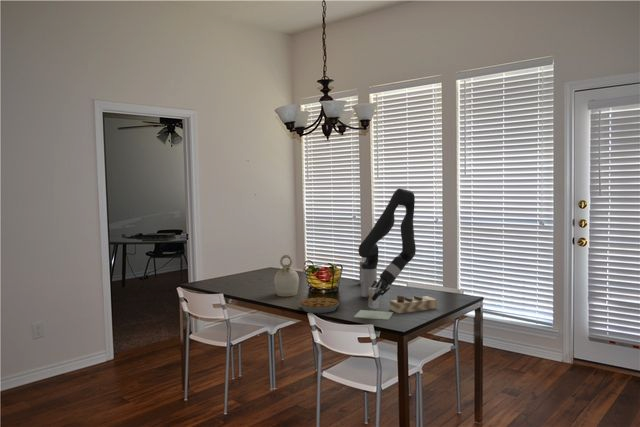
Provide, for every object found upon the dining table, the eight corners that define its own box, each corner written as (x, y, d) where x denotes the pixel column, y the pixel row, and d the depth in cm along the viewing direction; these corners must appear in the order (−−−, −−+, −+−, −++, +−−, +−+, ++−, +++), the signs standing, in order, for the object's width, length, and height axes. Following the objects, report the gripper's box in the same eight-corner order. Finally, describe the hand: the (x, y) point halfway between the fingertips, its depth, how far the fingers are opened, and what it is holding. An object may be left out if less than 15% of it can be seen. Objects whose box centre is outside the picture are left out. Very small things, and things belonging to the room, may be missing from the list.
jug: (295, 297, 308) (295, 257, 307) (271, 297, 311) (270, 256, 310) (301, 292, 323) (301, 253, 322) (278, 291, 326) (277, 253, 325)
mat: (353, 317, 261) (353, 316, 261) (360, 310, 275) (360, 310, 275) (388, 319, 256) (388, 319, 256) (393, 312, 269) (393, 312, 269)
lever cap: (372, 308, 262) (372, 289, 261) (368, 306, 266) (368, 287, 265) (379, 307, 263) (379, 288, 263) (375, 305, 268) (374, 287, 267)
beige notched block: (398, 313, 268) (398, 298, 267) (390, 309, 276) (389, 295, 275) (436, 308, 277) (436, 293, 276) (427, 304, 285) (427, 290, 285)
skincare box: (362, 285, 340) (362, 262, 339) (359, 283, 347) (358, 260, 346) (374, 284, 343) (374, 261, 342) (370, 282, 349) (370, 259, 348)
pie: (337, 303, 292) (337, 295, 292) (340, 313, 270) (340, 304, 270) (300, 304, 291) (299, 296, 291) (299, 314, 270) (299, 305, 269)
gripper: (379, 267, 273) (359, 292, 269) (392, 271, 260) (372, 297, 256) (388, 276, 275) (368, 300, 271) (401, 280, 262) (381, 306, 258)
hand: (370, 298), depth 264 cm, fingers closed on lever cap, 4 cm apart
